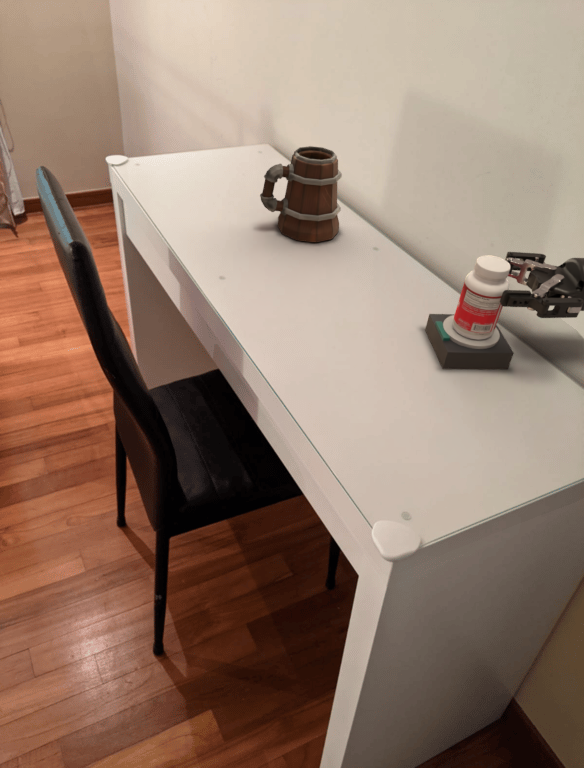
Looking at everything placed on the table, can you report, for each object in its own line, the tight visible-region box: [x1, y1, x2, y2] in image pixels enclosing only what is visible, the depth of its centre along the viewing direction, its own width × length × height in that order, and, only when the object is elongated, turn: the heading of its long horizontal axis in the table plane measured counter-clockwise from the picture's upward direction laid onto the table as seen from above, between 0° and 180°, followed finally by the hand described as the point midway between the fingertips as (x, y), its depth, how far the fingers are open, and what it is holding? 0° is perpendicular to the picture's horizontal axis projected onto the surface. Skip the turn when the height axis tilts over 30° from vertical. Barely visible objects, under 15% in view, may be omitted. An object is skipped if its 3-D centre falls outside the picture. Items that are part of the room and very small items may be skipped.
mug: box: [259, 145, 343, 243], centre depth 116 cm, size 16×12×15 cm
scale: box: [424, 313, 515, 370], centre depth 92 cm, size 10×10×4 cm
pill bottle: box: [453, 254, 510, 340], centre depth 88 cm, size 6×6×11 cm
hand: (491, 282), depth 86 cm, fingers open, 8 cm apart
